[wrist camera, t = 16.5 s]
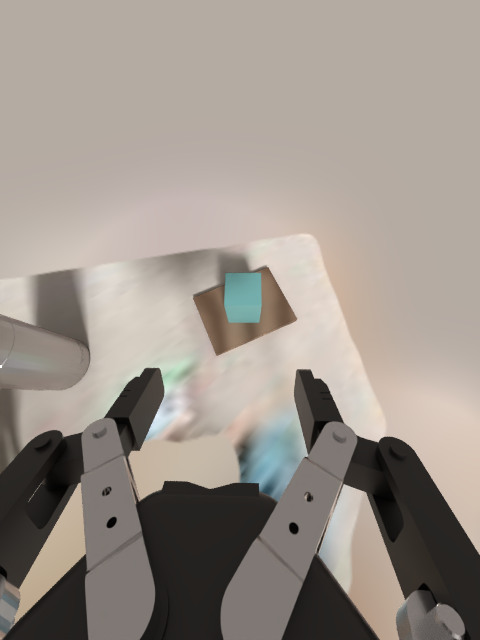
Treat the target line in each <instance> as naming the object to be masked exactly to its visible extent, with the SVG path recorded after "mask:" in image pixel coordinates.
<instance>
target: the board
mask: <svg viewBox="0 0 480 640" xmlns="http://www.w3.org/2000/svg"><path fill="white" fill-rule="evenodd" d="M255 273H261V301H262V306H261V314H260V321H259V323H229V322H228V318H227V314H226V311H225V307H224V299H225V285H223V286H221V287H218V288H216V289H214V290H211V291H209V292H206V293H204V294H201V295H199V296H196V297H194V298H193V299H194V302H195V304H196V306H197V309H198V311H199V314H200V316H201V319H202V321H203V324H204V326H205V329H206V331H207V333H208V336H209V338H210V341H211V343H212V346H213V348H214V351H215V353H216V355H217V356H218V355H220V354H222V353H225V352H227V351H229V350H231V349H234V348H236V347H238V346H241V345H243V344H245V343H247V342H250V341H252V340H254V339H256V338H259V337H261V336H263V335H265V334H268V333H270V332H272V331H275V330H277V329H279V328H281V327H284V326H286V325H288V324H290V323H293V322H295V321H296V320H297V318H296V316H295V314H294V312H293V310H292V309H291V307H290V305H289V303H288V302H287V300H286V298H285V296H284V294H283V293H282V291H281V289H280V287H279V286H278V284H277V282H276V280H275V278H274V277H273V275H272V273H271V271H270V270H269V268H268V267H267V268H265V269H263V270H260V271H258V272H255Z"/></svg>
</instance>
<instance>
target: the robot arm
mask: <svg viewBox="0 0 480 640" xmlns="http://www.w3.org/2000/svg"><path fill="white" fill-rule="evenodd" d="M89 360H90V357H89V352H88V349H87V347H86V346H85V345H84V344H83V343H82V342H80V341H78V340H75V339H72V338H69V337H66V336H63V335H60V334H57V333H54V332H52V331H49V330H46V329H43V328H40V327H37V326H34V325H31V324H28V323H25V322H22V321H19V320H16V319H13V318H10V317H7V316H4V315H1V314H0V389H20V390H64V389H67V388H70V387H72V386H73V385H75V384H76V383H77V382H78V381H80V380H81V378H82V377H83V376H84V375H85V373H86V371H87V369H88V366H89ZM163 397H164V385H163V380H162V375H161V371H160V369H159V368H145V369H144V371H143V372H142V374H141V375H140V377H135V378H134V379H132V380H131V381H130V382H129V383H128V384H127V385H126V387H125V388H124V390H123V391H122V392H121V394H120V395H119V397H118V398H117V400H116V401H115V403H114V404H113V405H112V407H111V408H110V410H109V411H108V413H107V414H106V416H105V417H104V418H103V419H100V420H97V421H95V422H93V423H92V424H90V425H89V426H88V427H87V428H86V429H85V430H84V432H82V433H78V434H74V435H70V436H66V437H64V436H63V435H62V433H61V432H60V431H58V430H51V431H47V432H45V433H42V434H40V435H38V436H37V437H35V438H34V439H32V440H31V441H30V442H29V443H28V444H27V445H26V446H25V447H24V448H23V450H22V451H21V452H20V453H19V454H18V455H17V456H16V458H15V459H14V460H13V461H12V462H11V463H10V464H9V466H8V467H7V468H6V469H5V470H4V471H3V472H2V474H1V475H0V640H379V638H378V637H377V635H376V634H375V632H374V631H373V630H372V628H371V627H370V625H369V624H368V623H367V621H366V620H365V619H364V617H363V616H362V614H361V613H360V612H359V610H358V609H357V608H356V606H355V605H354V604H353V602H352V601H351V600H350V598H349V597H348V595H347V594H346V592H345V591H344V590H343V588H342V587H341V586H340V584H339V583H338V581H337V580H336V579H335V577H334V576H333V575H332V573H331V572H330V570H329V569H328V568H327V566H326V565H325V564H324V562H323V561H322V559H321V558H320V557H319V555H318V554H319V552H320V549H321V546H322V543H323V541H324V538H325V535H326V532H327V529H328V526H329V523H330V521H331V518H332V515H333V512H334V510H335V507H336V504H337V501H338V499H339V496H340V493H341V491H342V488H343V485H344V484H345V485H348V486H351V487H353V488H356V489H359V490H362V491H364V492H366V493H367V496H368V499H369V501H370V504H371V507H372V510H373V512H374V515H375V518H376V521H377V523H378V526H379V529H380V532H381V534H382V537H383V540H384V543H385V545H386V548H387V551H388V554H389V556H390V559H391V562H392V565H393V567H394V570H395V573H396V576H397V579H398V581H399V584H400V587H401V590H402V592H403V595H404V598H405V602H404V603H403V604H402V605H401V606H400V608H399V609H398V612H397V617H396V625H397V631H398V636H399V640H480V555H479V554H478V552H477V550H476V549H475V547H474V545H473V544H472V542H471V541H470V539H469V538H468V536H467V534H466V533H465V531H464V529H463V528H462V526H461V525H460V523H459V521H458V520H457V518H456V517H455V515H454V513H453V512H452V510H451V509H450V507H449V505H448V504H447V502H446V501H445V499H444V497H443V496H442V494H441V493H440V491H439V490H438V488H437V486H436V485H435V483H434V482H433V480H432V479H431V477H430V475H429V473H428V472H427V470H426V469H425V467H424V466H423V464H422V462H421V461H420V459H419V457H418V456H417V454H416V453H415V451H414V450H413V449H412V448H411V447H410V446H409V445H407V444H406V443H405V442H403V441H402V440H400V439H397V438H394V437H383V438H381V439H380V441H379V443H378V442H374V441H371V440H368V439H364V438H361V437H359V436H357V435H356V434H355V433H354V431H353V430H352V429H351V428H350V427H349V426H347V425H345V424H344V422H343V420H342V417H341V415H340V413H339V411H338V409H337V406H336V404H335V402H334V400H333V397H332V395H331V394H330V391H329V389H328V386H327V385H326V384H325V383H324V382H323V381H322V380H321V379H314V377H313V374H312V372H311V370H306V369H297V371H296V379H295V387H294V398H295V403H296V407H297V411H298V415H299V419H300V423H301V428H302V432H303V436H304V440H305V444H306V448H307V452H308V457H304V458H303V460H302V461H301V463H300V465H299V467H298V468H297V470H296V472H295V474H294V475H293V477H292V479H291V481H290V482H289V484H288V486H287V488H286V490H285V491H284V493H283V495H282V497H281V498H280V500H279V502H277V501H276V500H275V499H273V498H272V497H270V496H269V495H267V494H265V493H262V492H259V483H233V484H229V485H225V486H221V487H218V488H214V489H208V488H204V487H202V486H199V485H196V484H193V483H190V482H182V481H165V482H164V485H163V488H162V490H159V491H156V492H154V493H152V494H150V495H148V496H146V497H145V498H143V499H142V500H140V497H139V494H138V491H137V487H136V483H135V480H134V476H133V473H132V469H131V465H130V462H129V458H128V456H129V454H130V452H131V451H140V449H141V446H142V444H143V442H144V440H145V438H146V435H147V433H148V431H149V429H150V426H151V424H152V422H153V420H154V418H155V415H156V413H157V411H158V409H159V406H160V404H161V402H162V400H163ZM41 482H42V483H41ZM80 482H81V490H82V504H83V517H84V532H85V545H86V554H85V555H84V556H83V557H82V558H81V559H80V560H79V561H78V562H77V563H76V564H75V565H74V566H73V567H72V568H71V569H70V570H69V571H68V572H67V573H66V574H65V575H64V576H63V577H62V578H61V579H60V580H59V581H58V582H57V583H56V584H55V585H54V586H53V587H52V588H51V589H50V590H49V591H48V592H47V593H46V594H45V595H44V596H43V597H42V598H41V599H40V600H39V601H38V602H37V603H36V604H35V605H34V606H33V607H32V608H31V609H30V610H29V611H28V612H27V613H25V615H23V617H21V618H20V619H19V621H18V622H17V623H16V624H15V625H14V626H13V624H14V621H15V615H16V612H17V610H18V607H19V603H20V592H19V588H20V586H21V584H22V582H23V581H24V579H25V577H26V575H27V574H28V572H29V570H30V568H31V566H32V565H33V563H34V561H35V559H36V558H37V556H38V554H39V552H40V550H41V549H42V547H43V545H44V543H45V542H46V540H47V538H48V536H49V535H50V533H51V531H52V529H53V528H54V526H55V524H56V522H57V521H58V519H59V517H60V515H61V513H62V512H63V510H64V508H65V506H66V505H67V503H68V501H69V499H70V497H71V496H72V494H73V492H74V490H75V488H76V487H77V485H78V483H80ZM40 484H41V485H40ZM39 485H40V486H39ZM38 487H39V488H38ZM37 488H38V489H37ZM36 490H37V491H36ZM35 491H36V492H35ZM34 492H35V494H34ZM33 494H34V495H33ZM32 495H33V496H32ZM31 497H32V498H31ZM30 498H31V499H30ZM29 500H30V501H29ZM28 501H29V502H28Z"/></svg>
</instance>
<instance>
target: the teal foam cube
mask: <svg viewBox="0 0 480 640" xmlns="http://www.w3.org/2000/svg"><path fill="white" fill-rule="evenodd" d="M261 306H262V301H261V273H226V274H225V299H224V307H225V311H226V314H227V318H228V322H229V323H259V321H260V314H261Z"/></svg>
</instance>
